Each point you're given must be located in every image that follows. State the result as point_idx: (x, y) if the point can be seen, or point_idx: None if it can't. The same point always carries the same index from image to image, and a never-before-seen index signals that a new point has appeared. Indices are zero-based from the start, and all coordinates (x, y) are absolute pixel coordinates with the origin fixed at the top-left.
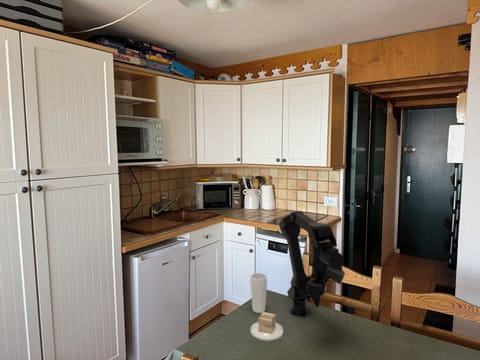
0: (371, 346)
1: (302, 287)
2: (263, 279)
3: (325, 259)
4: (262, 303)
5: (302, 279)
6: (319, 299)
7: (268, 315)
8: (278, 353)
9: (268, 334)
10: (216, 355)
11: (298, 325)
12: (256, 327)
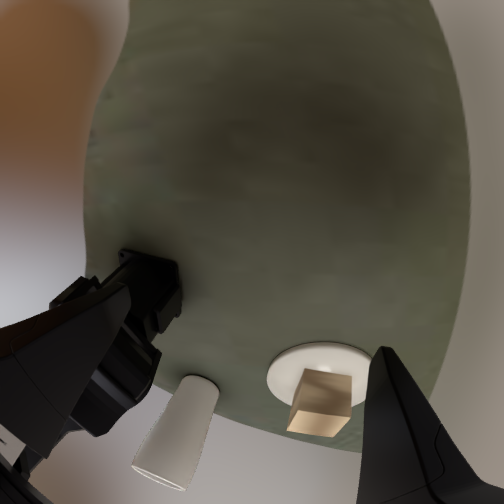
0: None
1: (111, 387)
2: (170, 479)
3: None
4: (202, 407)
5: (73, 409)
6: (435, 427)
7: (309, 422)
8: (440, 345)
9: (354, 381)
10: None
11: (256, 292)
12: None
